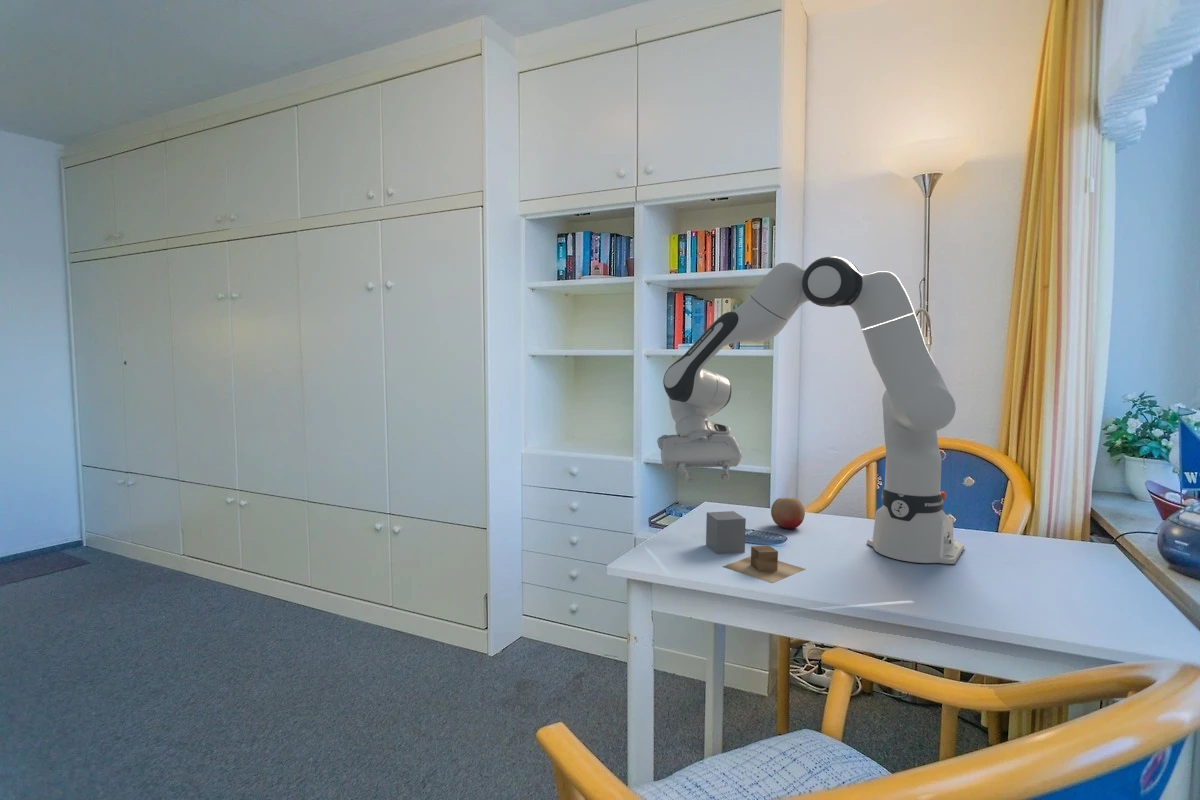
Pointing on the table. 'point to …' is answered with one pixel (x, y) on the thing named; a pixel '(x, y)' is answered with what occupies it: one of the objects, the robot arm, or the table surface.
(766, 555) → the walnut block
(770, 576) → the cork mat
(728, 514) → the plain grey cube
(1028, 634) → the table surface
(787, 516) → the fruit
